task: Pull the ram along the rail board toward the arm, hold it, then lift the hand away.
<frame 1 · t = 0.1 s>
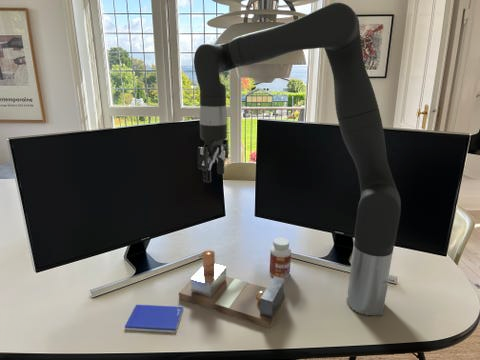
hand: (214, 178, 99), 29 cm above the table, tool pointing down, fingers open, 8 cm apart
rail board: (232, 298, 92), on the table
ram: (208, 269, 93), point 7 cm above the table, slide at 0.0 cm
grey block with knob: (272, 311, 88), resting on rail board
pill bottle: (279, 274, 104), on the table
hard drive: (155, 321, 85), on the table
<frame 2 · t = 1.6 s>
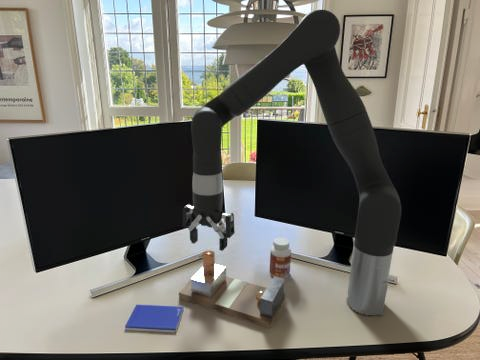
hand: (208, 245, 91), 15 cm above the table, tool pointing down, fingers open, 8 cm apart
nothing on the table moved.
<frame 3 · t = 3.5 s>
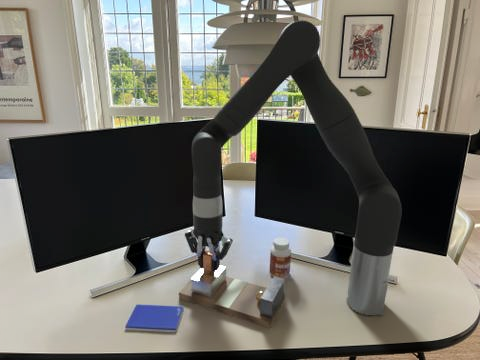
hand: (208, 268, 93), 8 cm above the table, tool pointing down, fingers closed on ram, 3 cm apart
ram: (209, 269, 93), point 7 cm above the table, slide at 0.0 cm, touching gripper
everything else where it was.
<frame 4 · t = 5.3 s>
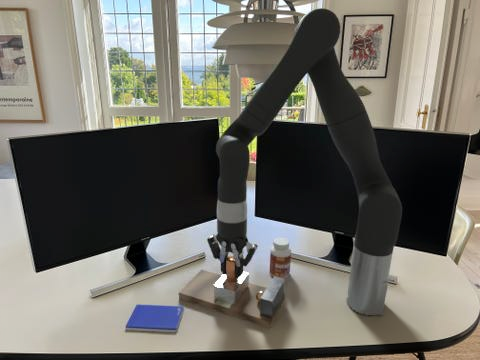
hand: (231, 274, 90), 8 cm above the table, tool pointing down, fingers closed on ram, 3 cm apart
ram: (231, 275, 90), point 7 cm above the table, slide at 6.9 cm, touching gripper
everything else where it was.
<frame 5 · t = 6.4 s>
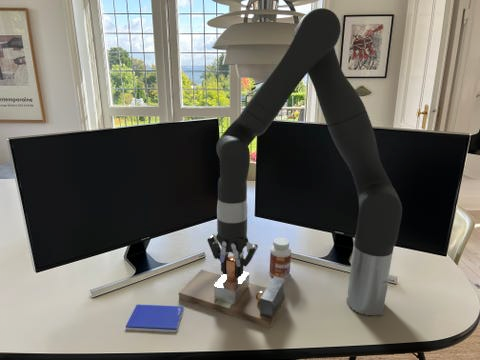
hand: (231, 274, 90), 8 cm above the table, tool pointing down, fingers closed on ram, 3 cm apart
ram: (232, 275, 90), point 7 cm above the table, slide at 7.0 cm, touching gripper
everything else where it was.
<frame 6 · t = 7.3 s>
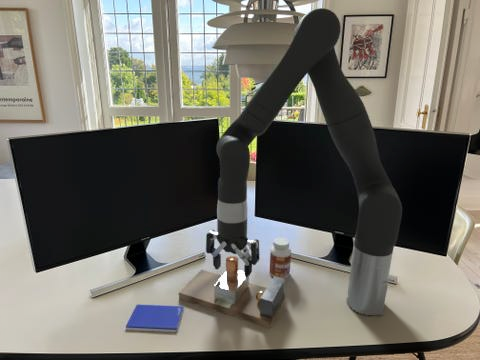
hand: (232, 271, 90), 9 cm above the table, tool pointing down, fingers open, 8 cm apart
ram: (232, 275, 90), point 7 cm above the table, slide at 7.0 cm
everything else where it was.
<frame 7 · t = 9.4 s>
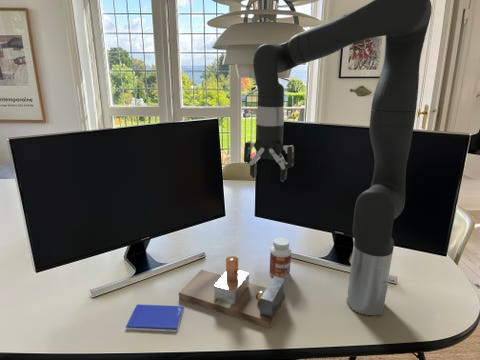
hand: (267, 179, 98), 29 cm above the table, tool pointing down, fingers open, 8 cm apart
nothing on the table moved.
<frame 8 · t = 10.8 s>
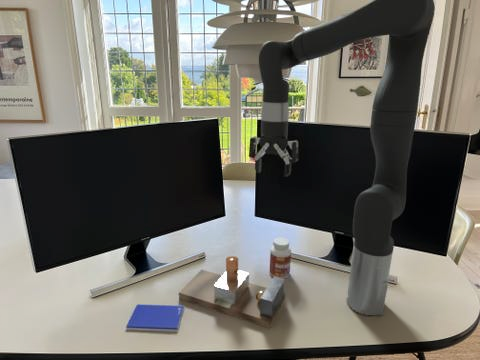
hand: (272, 173, 100), 30 cm above the table, tool pointing down, fingers open, 8 cm apart
nothing on the table moved.
at the end: ram slide at 7.0 cm; ram touching nothing; the gripper is holding nothing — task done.
